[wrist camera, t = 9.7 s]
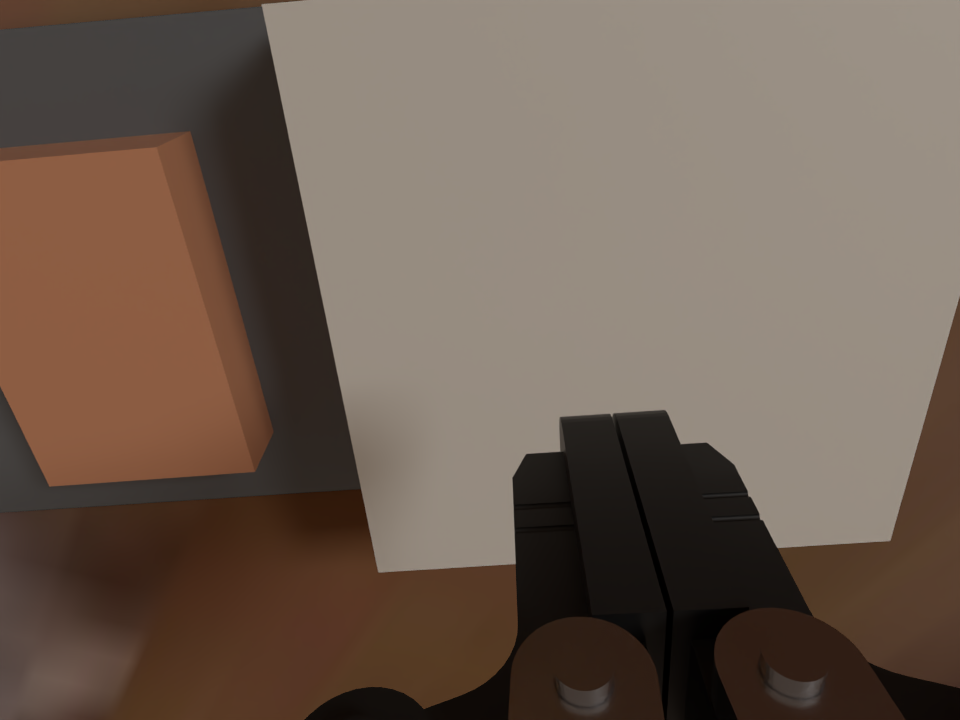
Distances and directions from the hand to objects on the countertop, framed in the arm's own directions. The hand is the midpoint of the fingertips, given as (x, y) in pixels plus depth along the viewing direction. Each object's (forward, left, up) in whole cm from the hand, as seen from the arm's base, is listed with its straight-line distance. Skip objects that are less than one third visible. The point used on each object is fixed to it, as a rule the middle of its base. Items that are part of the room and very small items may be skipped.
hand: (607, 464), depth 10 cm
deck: (-2, +1, -10) cm, 10 cm away
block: (+12, +1, -7) cm, 14 cm away
